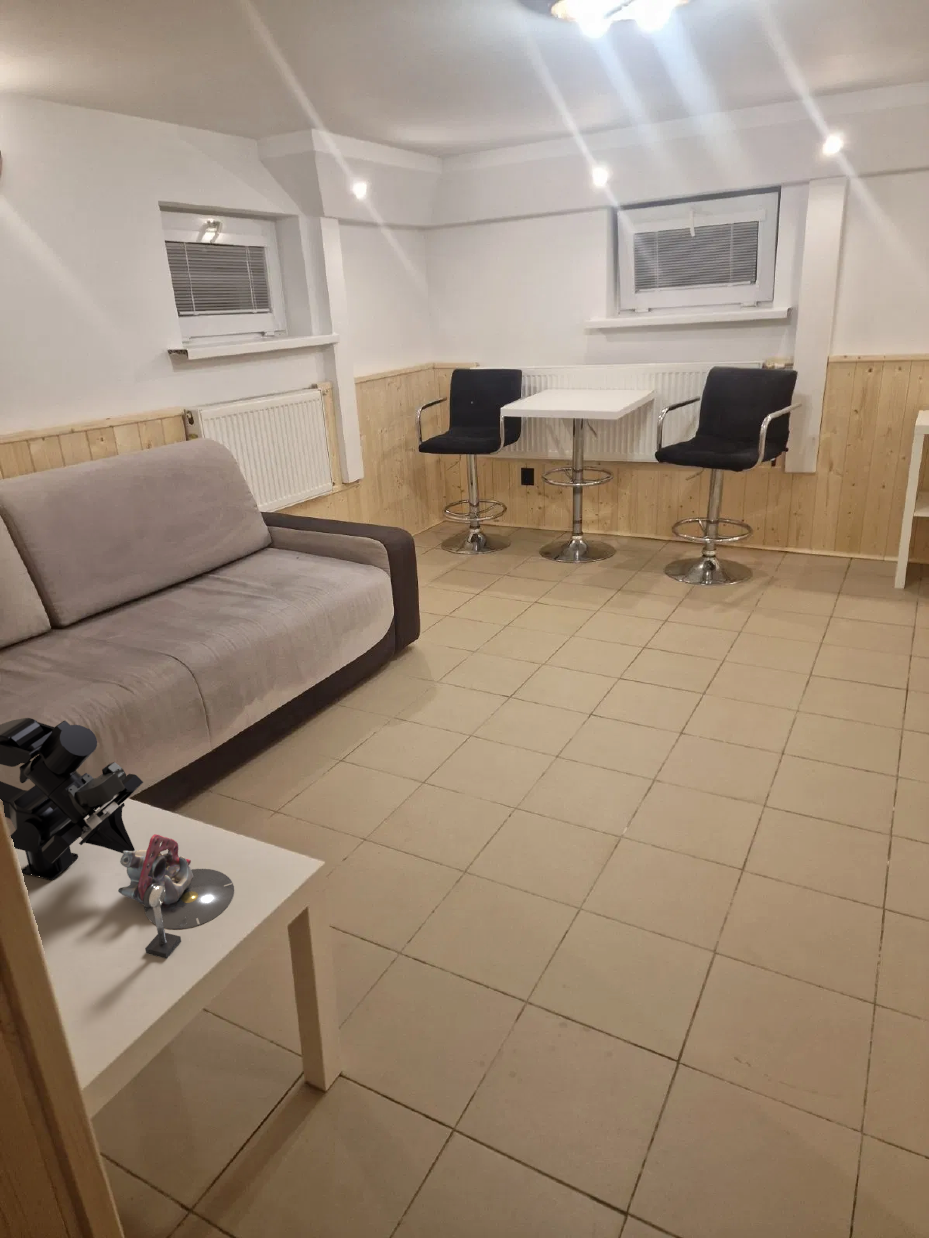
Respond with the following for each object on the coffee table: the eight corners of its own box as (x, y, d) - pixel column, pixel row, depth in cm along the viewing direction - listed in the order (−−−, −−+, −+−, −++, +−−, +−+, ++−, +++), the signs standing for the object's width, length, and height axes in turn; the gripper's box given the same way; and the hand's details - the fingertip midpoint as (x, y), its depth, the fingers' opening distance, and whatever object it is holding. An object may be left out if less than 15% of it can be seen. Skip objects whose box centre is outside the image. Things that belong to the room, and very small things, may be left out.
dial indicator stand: (146, 953, 123) (134, 892, 119) (160, 936, 126) (150, 876, 122) (166, 958, 122) (155, 897, 118) (181, 941, 125) (171, 880, 121)
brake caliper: (181, 908, 128) (129, 852, 126) (137, 933, 132) (86, 880, 130) (215, 861, 138) (168, 809, 136) (174, 886, 142) (127, 836, 140)
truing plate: (125, 918, 130) (125, 917, 130) (178, 862, 142) (178, 861, 142) (203, 937, 126) (202, 936, 126) (250, 878, 138) (250, 877, 138)
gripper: (42, 792, 121) (118, 867, 122) (125, 730, 137) (191, 797, 139) (10, 827, 126) (83, 898, 127) (93, 764, 143) (157, 827, 144)
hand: (132, 852), depth 134 cm, fingers closed
